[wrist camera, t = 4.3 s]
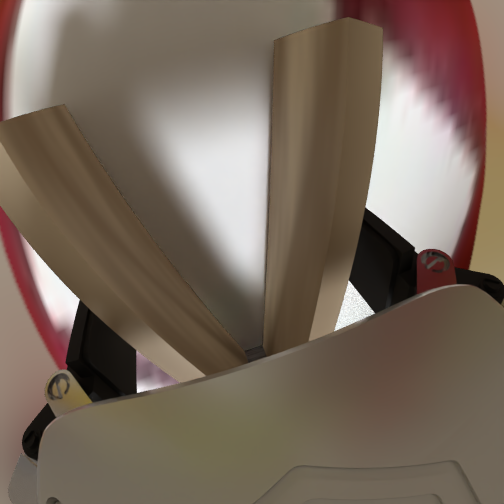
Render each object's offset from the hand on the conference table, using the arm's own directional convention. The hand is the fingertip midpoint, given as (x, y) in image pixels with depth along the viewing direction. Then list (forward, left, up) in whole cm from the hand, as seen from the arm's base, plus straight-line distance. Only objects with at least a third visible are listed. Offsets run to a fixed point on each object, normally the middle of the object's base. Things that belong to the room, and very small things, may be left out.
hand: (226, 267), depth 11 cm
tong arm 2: (+3, 0, -2) cm, 3 cm away
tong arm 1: (-3, 0, -2) cm, 3 cm away
